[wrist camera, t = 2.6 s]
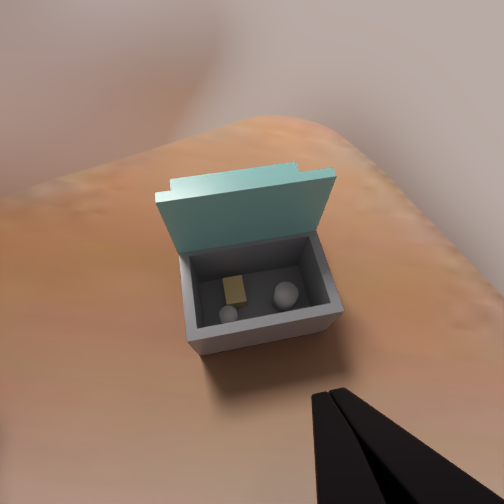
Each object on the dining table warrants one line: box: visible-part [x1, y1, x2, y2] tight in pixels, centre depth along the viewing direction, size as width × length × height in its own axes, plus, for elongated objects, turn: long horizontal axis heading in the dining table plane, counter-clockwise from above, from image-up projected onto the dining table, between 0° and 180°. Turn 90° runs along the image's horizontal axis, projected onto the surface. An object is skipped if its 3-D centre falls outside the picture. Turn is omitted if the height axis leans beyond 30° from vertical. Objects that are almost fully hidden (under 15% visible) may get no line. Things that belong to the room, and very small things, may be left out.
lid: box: [155, 162, 337, 253], centre depth 18 cm, size 6×9×5 cm, turn 101°
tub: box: [179, 231, 344, 356], centre depth 21 cm, size 11×9×5 cm
